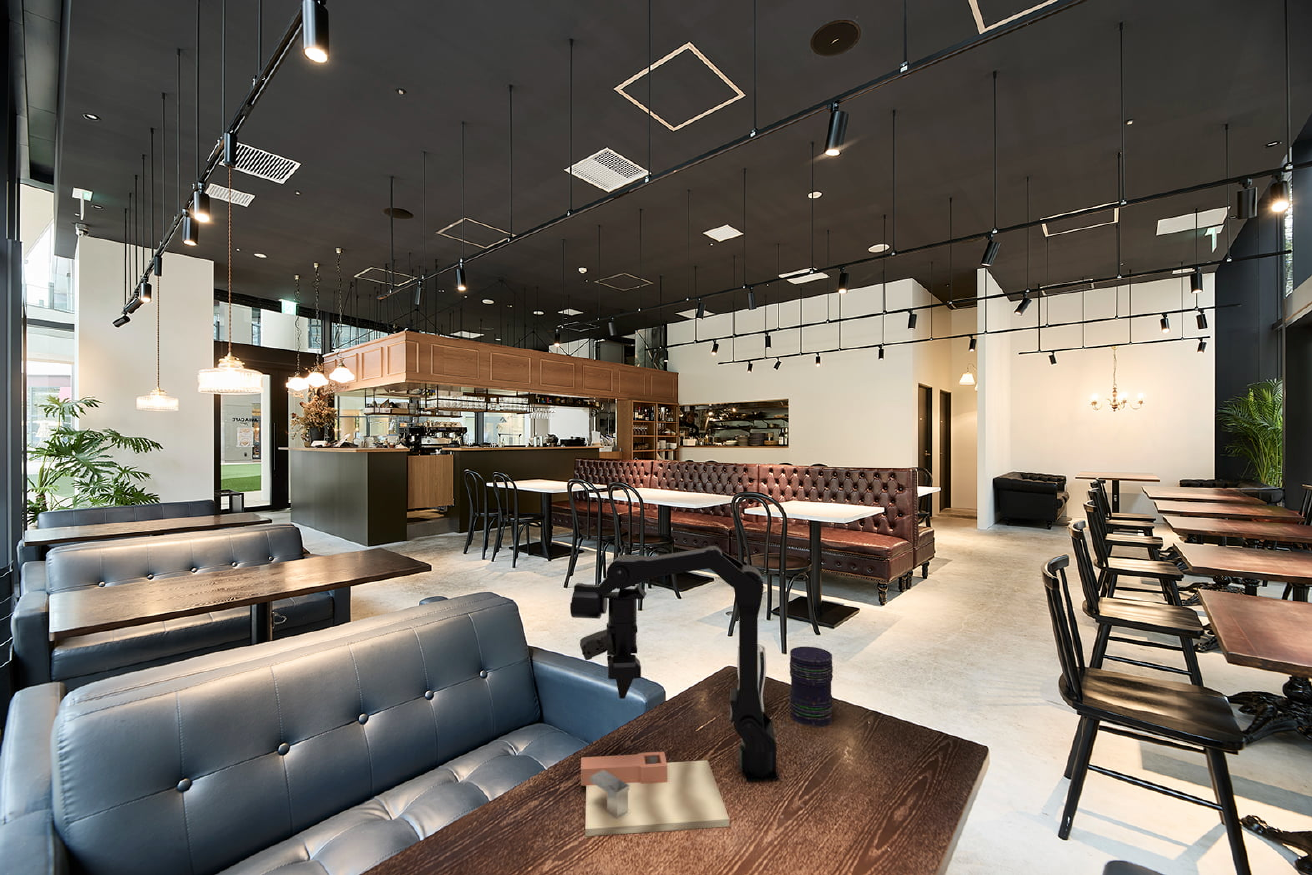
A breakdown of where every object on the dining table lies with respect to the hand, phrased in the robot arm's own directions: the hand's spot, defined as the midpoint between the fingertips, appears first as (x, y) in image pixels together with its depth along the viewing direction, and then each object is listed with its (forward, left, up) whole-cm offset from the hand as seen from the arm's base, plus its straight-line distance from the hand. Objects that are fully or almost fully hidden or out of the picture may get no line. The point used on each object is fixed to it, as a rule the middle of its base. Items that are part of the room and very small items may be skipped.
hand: (622, 696), depth 115 cm
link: (0, +8, -12) cm, 14 cm away
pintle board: (-5, +13, -13) cm, 19 cm away
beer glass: (-33, -19, -13) cm, 40 cm away
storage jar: (-46, -14, -13) cm, 50 cm away
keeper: (+3, +16, -12) cm, 20 cm away
